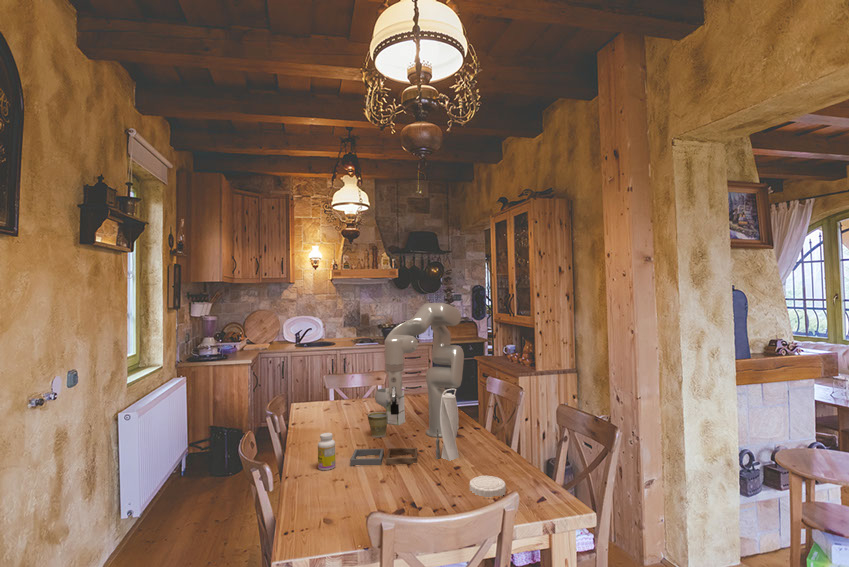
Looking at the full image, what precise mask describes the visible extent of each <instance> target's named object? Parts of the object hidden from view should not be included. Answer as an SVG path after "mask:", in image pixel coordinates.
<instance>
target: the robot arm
mask: <svg viewBox="0 0 849 567" xmlns="http://www.w3.org/2000/svg"><path fill="white" fill-rule="evenodd" d="M461 320H462V313H461V311H460V310H459V309H458V308H457V307H455V306H453V305H451V304H448V303H445V302H427V303H424V304H423V305H422V306H421V307H420V308H419V309H418V310H417V312H416V313H415V314H414V315H413V316H412V318H411V319H408V320H406V321H405V322H403V323H400V324H397V325H396V326H395V327H393V329H392V330H391V331H390V332H389V333H388V334H387V336H386V337H385V339H384V367H385V368H384V370H385V371H384V372H385V373H387V380H388V387H389V397H390V398H391V404H390V405H391V415H395V414H399V404H398V397H401V396H402V387H403V374H402V373H403V372H405V367H404V366H405V365H404V355H405V354H412V353H414V352H416V350H417V349H418V345H419V342H418V339H417V338H416V337H415V336H419V335H422V334H425V332H427V330H428V329H429V328H431V330H432V333H433V340H432V350H431V361H432V362H433V363H434V364H436V365H445V367H444V366H432V367H430V368H428V369H427V370H426V373H425V380H426V386H427V392H428V394H427V396H428V429H426V430H425V435H427V436H428V437H432V438H437V428H438V433H439V434H438V438H443V437H442V432H441V426H440V407H441V398H442V394H443V392H444V391H445V390H446V389H458V388H460V387H461V385H462V382H463V372H464V364H465V363H464V361H465V360H464V359H465V354H464V350H463V348H462V347H461V346H459V345H456V344H455V345H454V344H451V342H452V341H451V340H452V335H451V332H450V331H449V329H448V328H447V326H449V327H450V326H451V327H452V326H453V327H454V326H457V325H459V324H460V323H461ZM447 365H448V366H450V367H446V366H447ZM395 392H396V393H397V396H395ZM446 393H448V391H446V392H445V393H444V395H445V394H446ZM390 394H391V395H390ZM395 398H396V399H395ZM458 430H460V428H459V426H458ZM458 430H457V431H458Z"/></svg>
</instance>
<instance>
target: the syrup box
mask: <svg viewBox="0 0 849 567" xmlns="http://www.w3.org/2000/svg"><path fill="white" fill-rule="evenodd" d="M386 388H387V389H386V409H385V411H386V412H387V425H393V426H401V425H403V424H404V423H406V415H405V414H406V412H405V406H406V405H405V387H404V386H402V396H401V397H398V404H399V414H395V415H391V405H390V404H391V398H390V397H389V386H388V387H386ZM390 395H391V394H390ZM395 396H397V393H396V392H395ZM395 399H396V398H395Z"/></svg>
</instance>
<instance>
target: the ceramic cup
mask: <svg viewBox="0 0 849 567" xmlns="http://www.w3.org/2000/svg"><path fill="white" fill-rule="evenodd" d="M367 420H368V423H369V428H370V433H371V437H372V438H374V437H375V438H374V439H379V438H380V437H381V438H384V437H386V434H387V426H388V424H387V413H386V412H385V411H375V412H374V411H373V412H370V413H368V414H367ZM381 438H380V439H381Z"/></svg>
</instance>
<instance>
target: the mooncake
mask: <svg viewBox="0 0 849 567" xmlns="http://www.w3.org/2000/svg"><path fill="white" fill-rule="evenodd" d="M468 485H469V492H470V491H472V493H475V495H479V496H484V497H493V496H499V495H500V496H502V497H500V498H503V497H504V496H505V495H506V493H505V491H506V492H507V484H506V482H505V481H504V480H503V479H502V478H500V477H497V476H495V475H494V476H492V475H487V474H486V475H480V476H476V477H473V478H472V479H470V481H469V484H468ZM503 495H504V496H503Z"/></svg>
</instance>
